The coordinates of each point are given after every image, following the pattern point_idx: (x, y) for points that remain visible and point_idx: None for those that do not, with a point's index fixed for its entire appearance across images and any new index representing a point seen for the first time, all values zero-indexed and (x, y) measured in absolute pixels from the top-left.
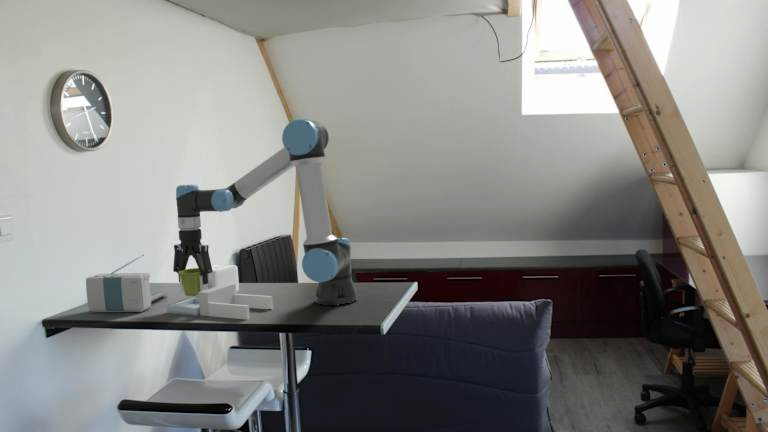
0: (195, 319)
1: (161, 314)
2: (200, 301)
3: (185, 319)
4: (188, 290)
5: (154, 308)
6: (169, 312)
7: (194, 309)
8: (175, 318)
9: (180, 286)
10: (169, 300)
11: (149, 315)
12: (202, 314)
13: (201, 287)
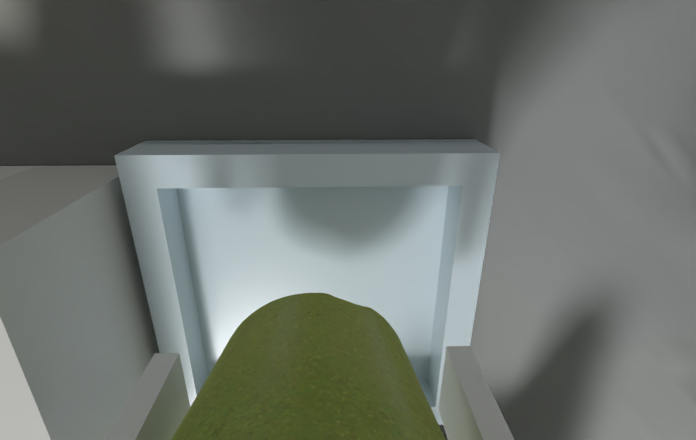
0: (48, 39)
1: (500, 90)
2: (43, 208)
3: (139, 9)
4: (288, 330)
5: (679, 223)
6: (453, 140)
7: (144, 153)
8: (264, 10)
9: (492, 400)
10: (683, 402)
11: (593, 27)
12: (106, 167)
13: (124, 418)
